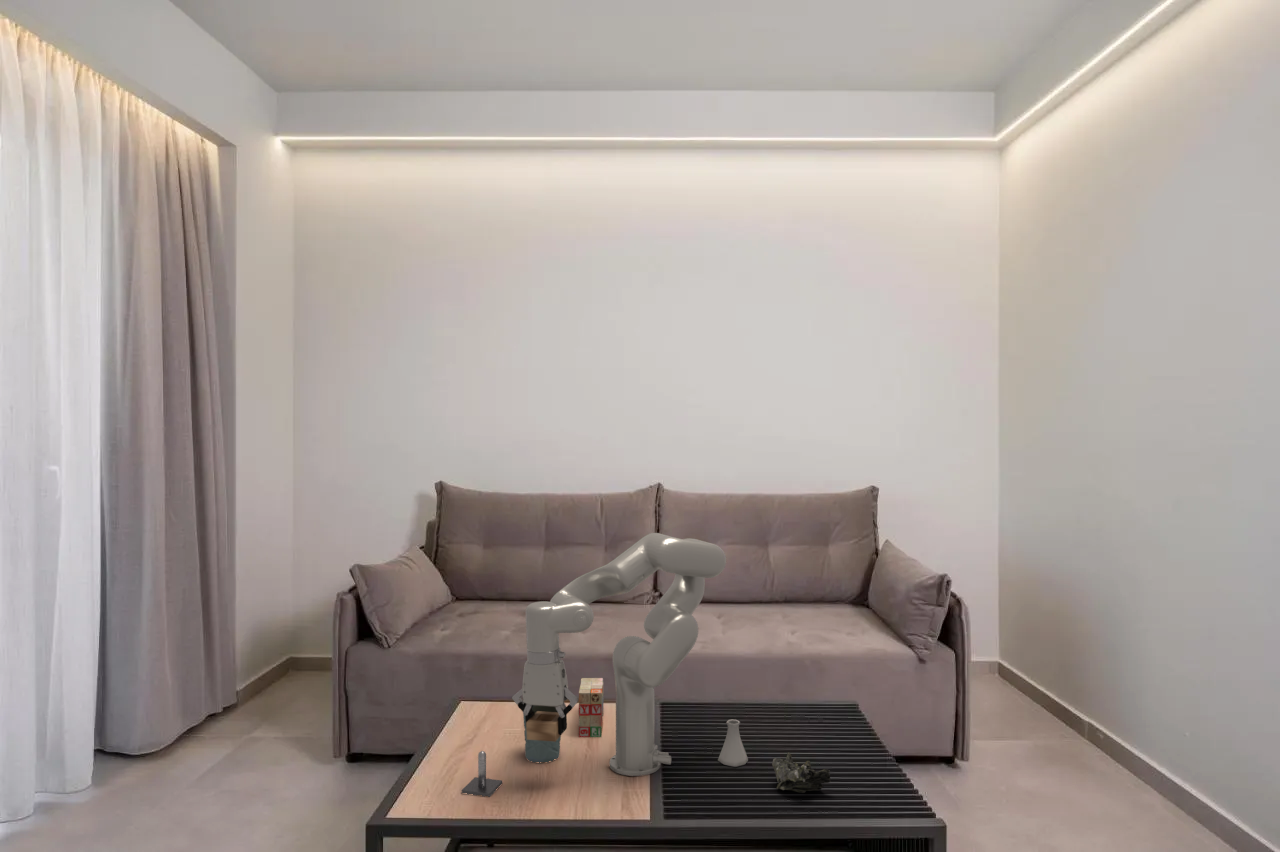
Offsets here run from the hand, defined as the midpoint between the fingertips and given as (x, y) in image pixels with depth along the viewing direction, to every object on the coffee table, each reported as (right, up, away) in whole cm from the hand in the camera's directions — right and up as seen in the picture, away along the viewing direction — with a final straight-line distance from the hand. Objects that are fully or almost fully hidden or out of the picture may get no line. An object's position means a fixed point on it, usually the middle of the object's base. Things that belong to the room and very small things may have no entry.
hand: (546, 730), depth 196 cm
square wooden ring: (0, -1, 0) cm, 1 cm away
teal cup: (-3, -13, +17) cm, 21 cm away
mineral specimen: (+59, -13, 0) cm, 61 cm away
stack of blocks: (+8, -12, +40) cm, 42 cm away
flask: (+45, -13, +14) cm, 49 cm away
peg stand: (-15, -13, -2) cm, 20 cm away
